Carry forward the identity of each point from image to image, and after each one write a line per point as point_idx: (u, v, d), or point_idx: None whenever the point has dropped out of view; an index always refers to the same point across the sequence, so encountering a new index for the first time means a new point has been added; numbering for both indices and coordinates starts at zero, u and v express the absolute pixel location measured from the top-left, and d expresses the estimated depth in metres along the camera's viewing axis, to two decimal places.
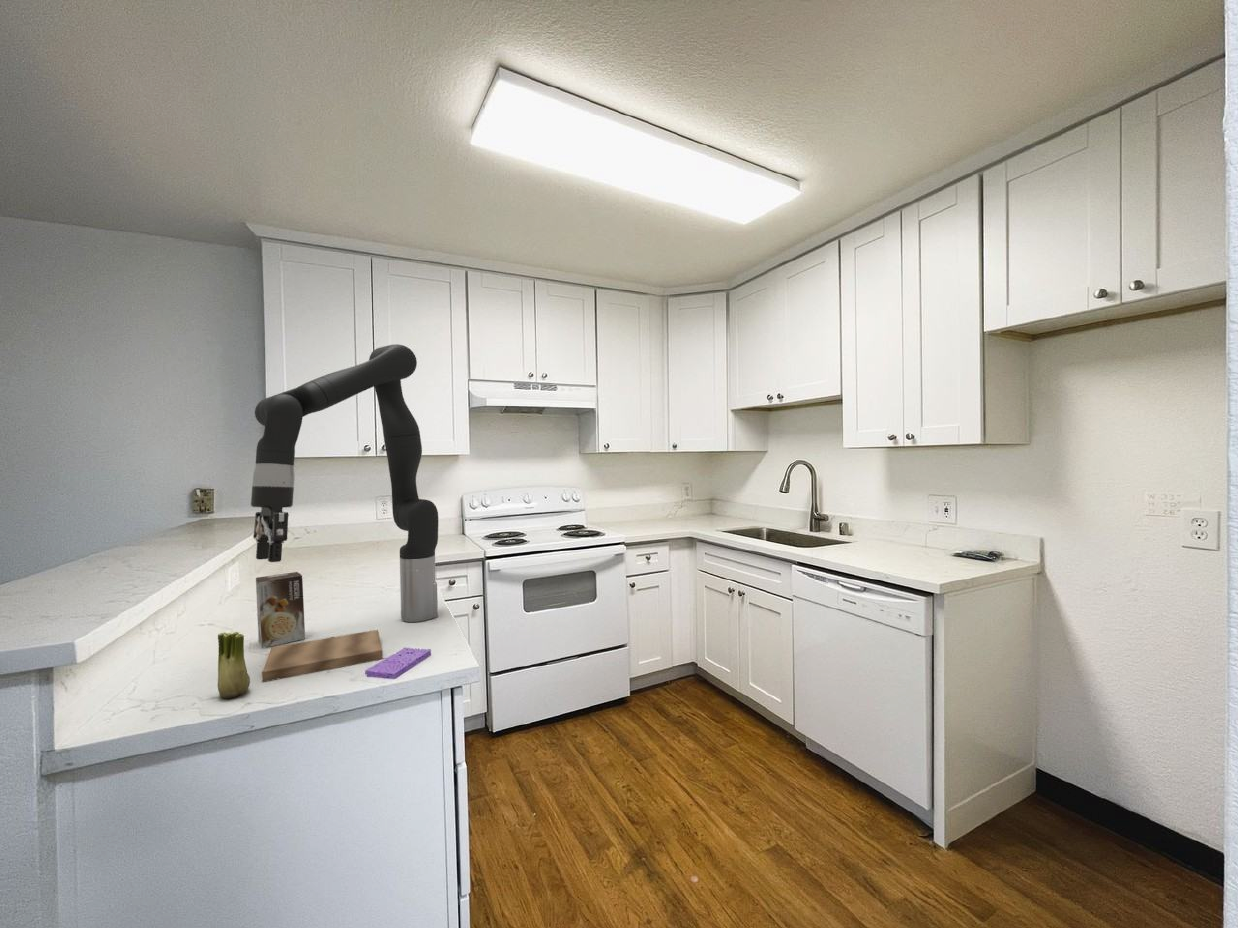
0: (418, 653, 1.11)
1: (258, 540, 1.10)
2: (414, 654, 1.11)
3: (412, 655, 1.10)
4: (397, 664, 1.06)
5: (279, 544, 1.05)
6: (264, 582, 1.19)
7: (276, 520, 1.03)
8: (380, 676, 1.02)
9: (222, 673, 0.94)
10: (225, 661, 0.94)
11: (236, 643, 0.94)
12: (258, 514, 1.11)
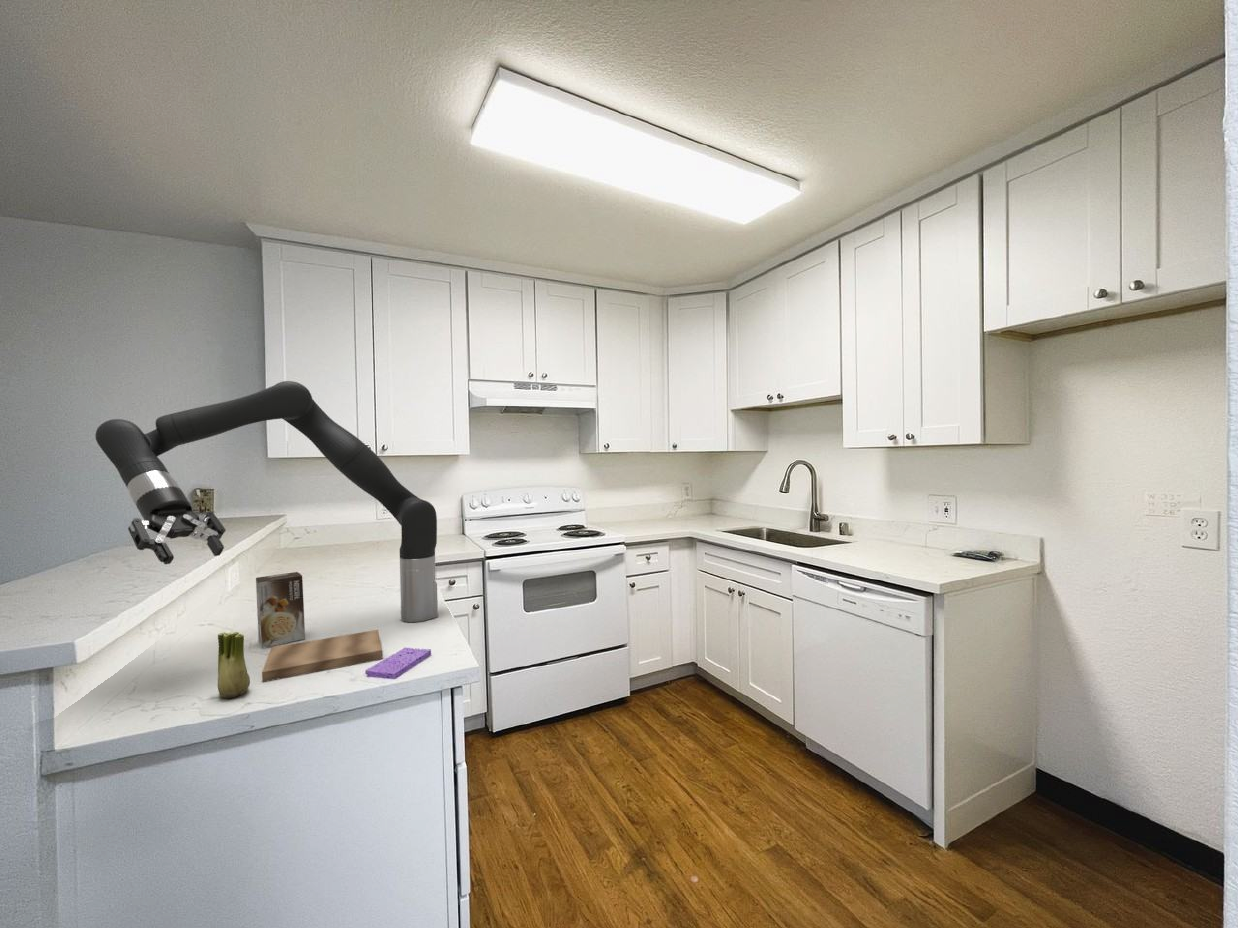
0: (418, 653, 1.11)
1: (207, 541, 1.04)
2: (414, 654, 1.11)
3: (412, 655, 1.10)
4: (397, 664, 1.06)
5: (155, 546, 0.95)
6: (264, 582, 1.19)
7: (131, 532, 0.95)
8: (380, 676, 1.02)
9: (222, 673, 0.94)
10: (225, 661, 0.94)
11: (236, 643, 0.94)
12: None
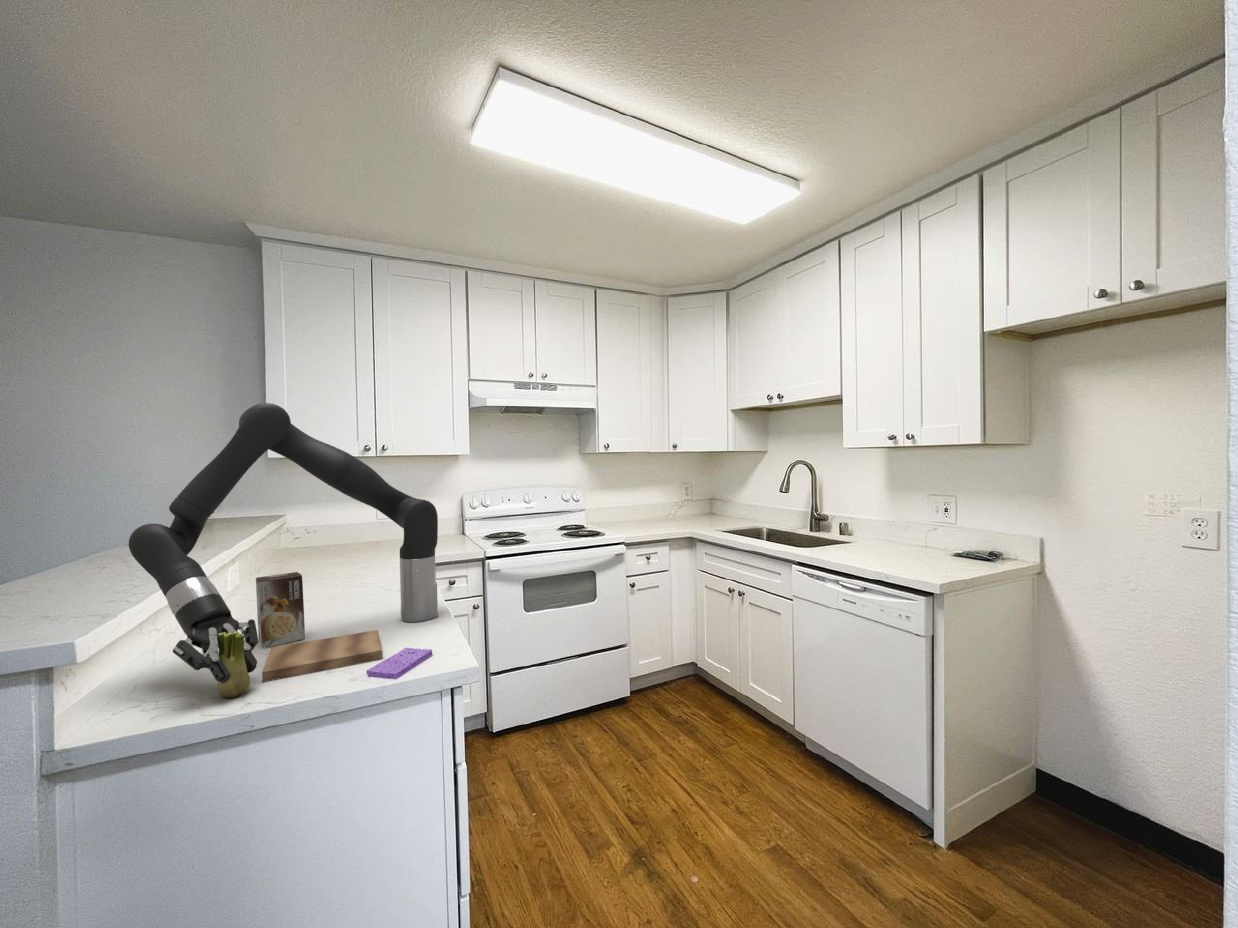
0: (419, 653, 1.11)
1: None
2: (415, 654, 1.11)
3: (413, 655, 1.10)
4: (398, 664, 1.06)
5: (211, 665, 0.92)
6: (264, 582, 1.19)
7: (179, 655, 0.91)
8: (382, 676, 1.02)
9: None
10: (226, 660, 0.94)
11: (236, 643, 0.94)
12: None
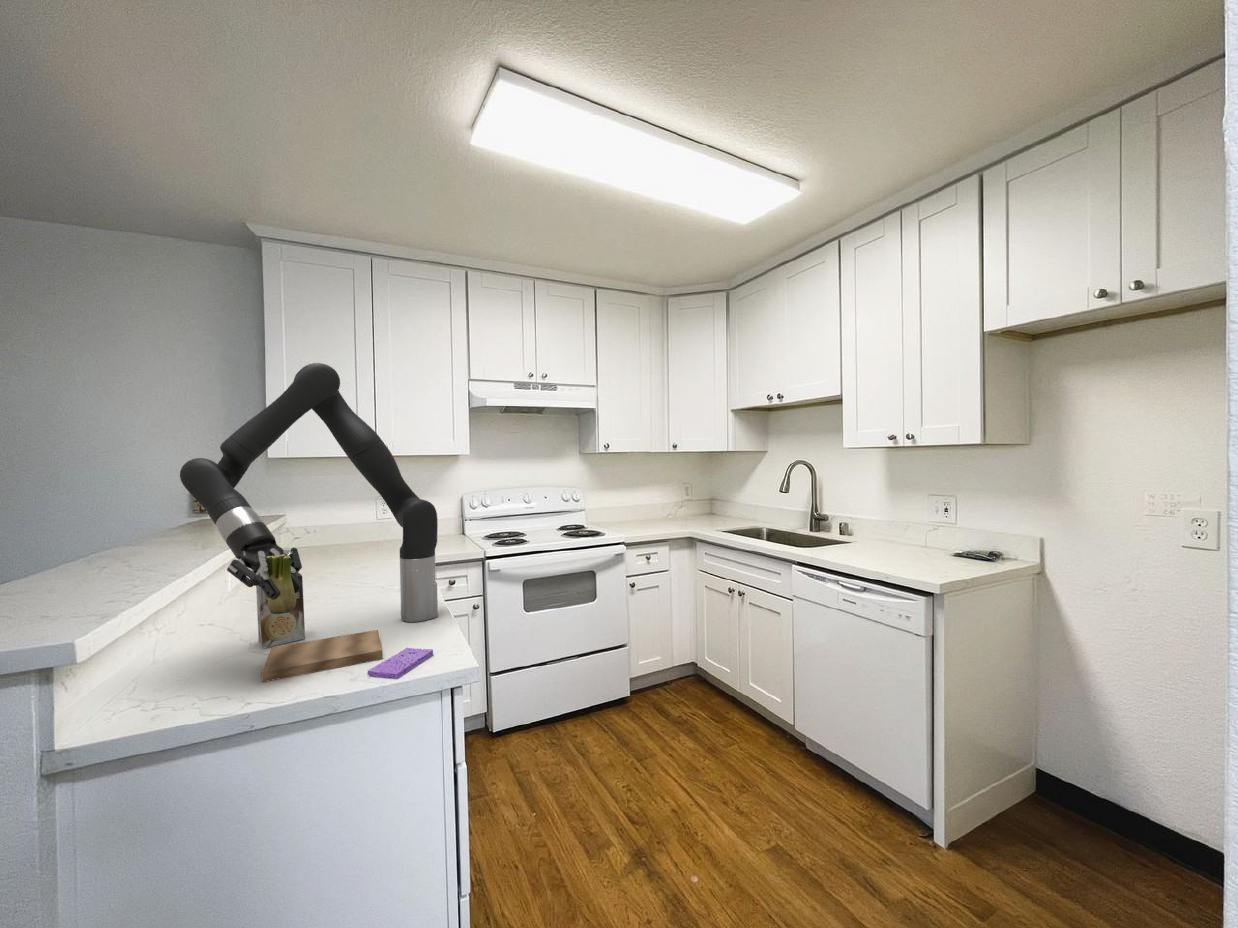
0: (420, 653, 1.11)
1: None
2: (416, 654, 1.11)
3: (414, 655, 1.10)
4: (399, 664, 1.06)
5: (262, 583, 1.00)
6: None
7: (233, 573, 0.99)
8: (382, 676, 1.02)
9: None
10: (274, 580, 1.02)
11: (284, 564, 1.02)
12: None
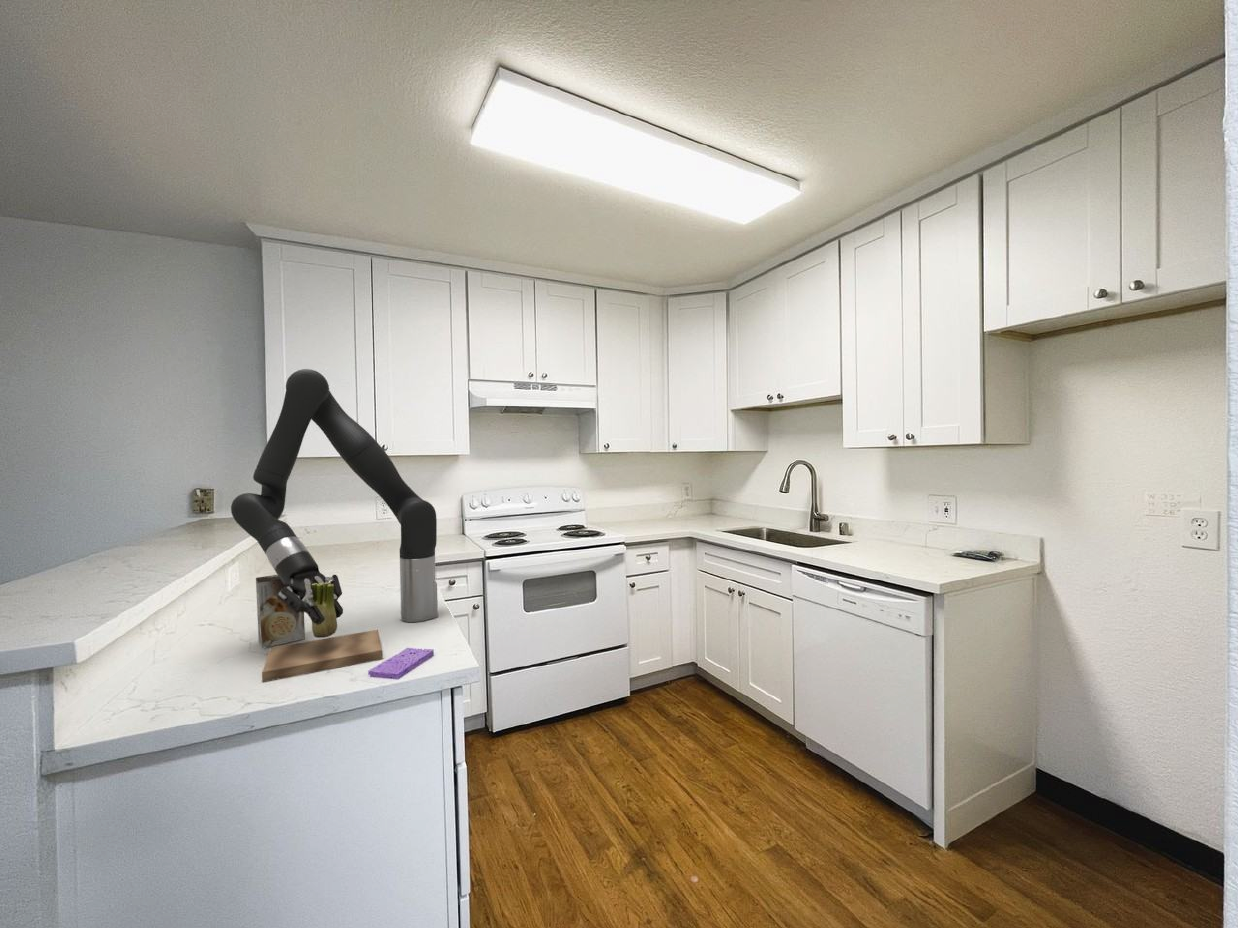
0: (421, 653, 1.11)
1: None
2: (417, 654, 1.11)
3: (415, 655, 1.10)
4: (400, 664, 1.06)
5: (308, 609, 1.09)
6: (264, 582, 1.19)
7: (282, 600, 1.08)
8: (383, 676, 1.02)
9: None
10: (319, 606, 1.11)
11: (328, 591, 1.11)
12: None
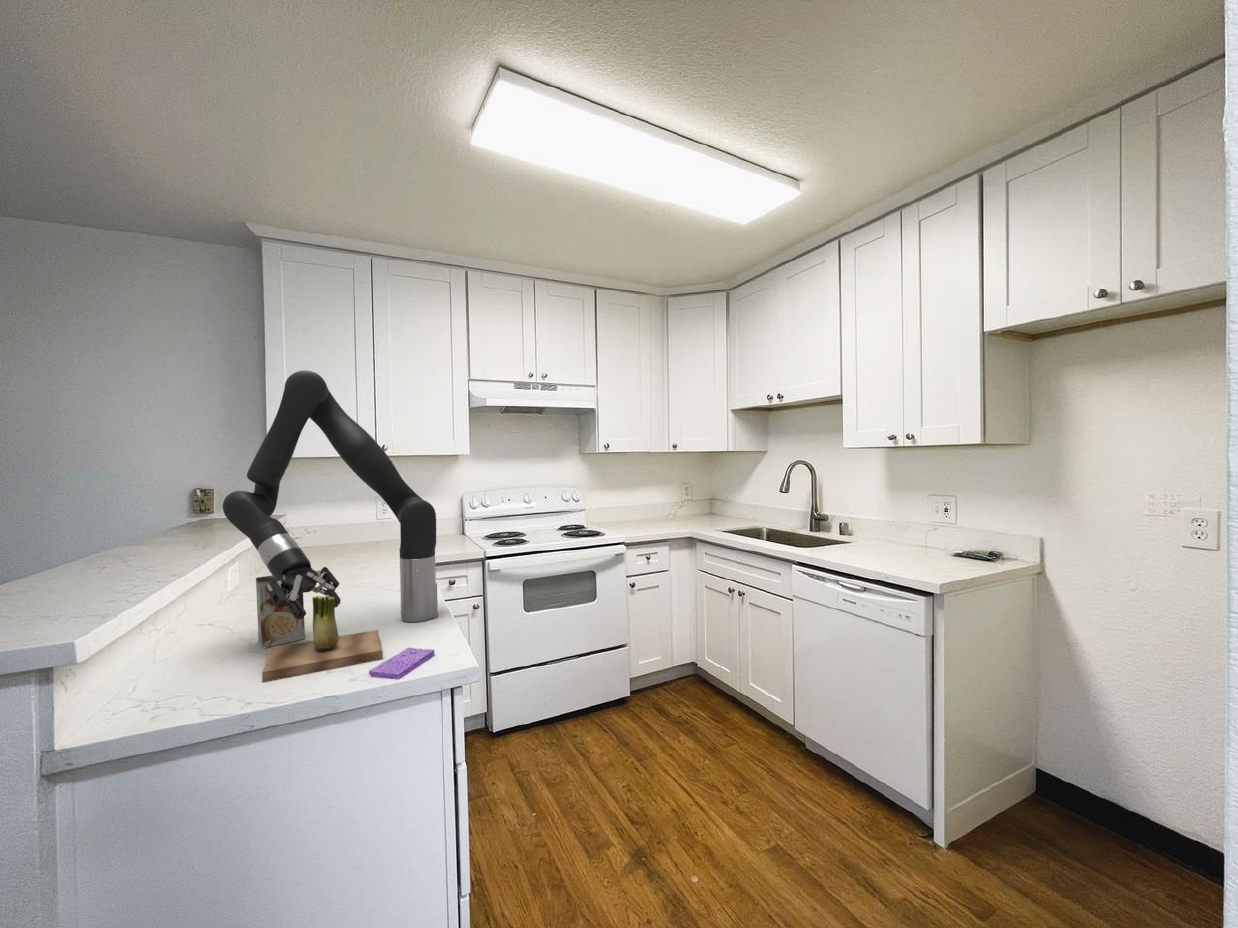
0: (422, 653, 1.11)
1: (326, 594, 1.18)
2: (418, 654, 1.11)
3: (416, 655, 1.10)
4: (401, 664, 1.06)
5: (290, 604, 1.09)
6: (264, 582, 1.19)
7: (268, 592, 1.09)
8: (384, 677, 1.02)
9: (317, 630, 1.11)
10: (320, 619, 1.12)
11: (329, 604, 1.11)
12: None
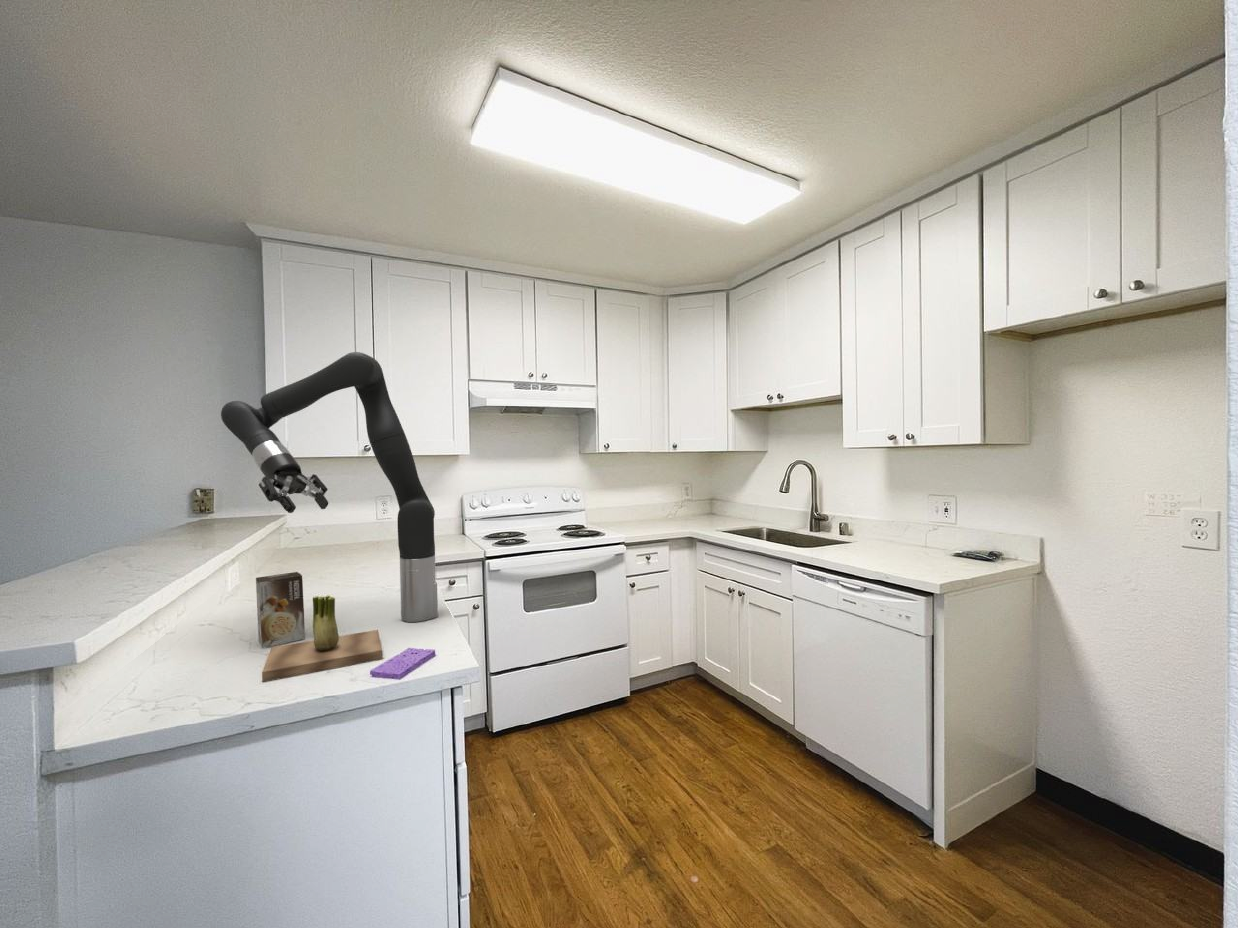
0: (422, 653, 1.11)
1: (315, 497, 1.28)
2: (418, 654, 1.11)
3: (416, 655, 1.10)
4: (402, 664, 1.06)
5: (281, 498, 1.18)
6: (264, 582, 1.19)
7: (261, 487, 1.18)
8: (385, 676, 1.02)
9: (317, 630, 1.11)
10: (320, 619, 1.12)
11: (329, 604, 1.11)
12: None
